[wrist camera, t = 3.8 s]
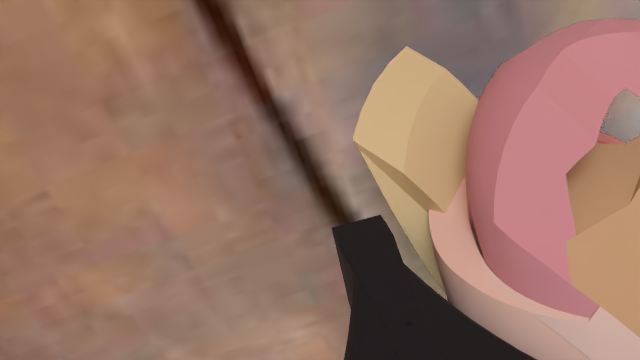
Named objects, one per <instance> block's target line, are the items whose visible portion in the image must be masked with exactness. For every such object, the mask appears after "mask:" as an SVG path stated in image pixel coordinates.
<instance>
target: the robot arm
mask: <svg viewBox="0 0 640 360" xmlns="http://www.w3.org/2000/svg"><path fill="white" fill-rule="evenodd" d="M332 231H333V235H334V239H335V244H336V248H337V252H338V257H339V261H340V266H341V270H342V274H343V279H344V283H345V287H346V292H347V296H348V300H349V304H350V307H351V316H350V325H349V333H348V340H347V346H346V352H345V357H344V360H537V359H535V358H533V357H532V356H530V355H528V354H526V353H524V352H522V351H520V350H519V349H517V348H515V347H514V346H512V345H511V344H509V343H507V342H506V341H504V340H502V339H501V338H499V337H498V336H496V335H494V334H493V333H491V332H490V331H488V330H487V329H485V328H484V327H482V326H481V325H479V324H478V323H476V322H475V321H474V320H472V319H471V318H469V317H468V316H467V315H465V314H464V313H462V312H461V311H460V310H458V309H457V308H456V307H454V306H453V305H452V304H451V303H449V302H448V301H447V300H445V299H444V298H443V297H442V296H440V295H439V294H438V293H437V292H435V291H434V290H433V289H432V288H431V287H430V286H428V285H427V284H426V283H425V282H424V281H423V280H422V279H420V278H419V277H418V276H417V275H416V274H415V273H414V272H413V271H412V270H410V269H409V268H408V267H407V266H406V265H405V264H404V263H403V261H402V258H401V255H400V252H399V249H398V247H397V244H396V241H395V238H394V236H393V234H392V232H391V230H390V229H389V227H388V225H387V224H386V222H385V221H384V220H383V218H382V217H381V215H378V216H374V217H371V218H367V219H363V220H359V221H356V222H352V223H348V224H344V225H341V226H337V227H333V228H332Z"/></svg>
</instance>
